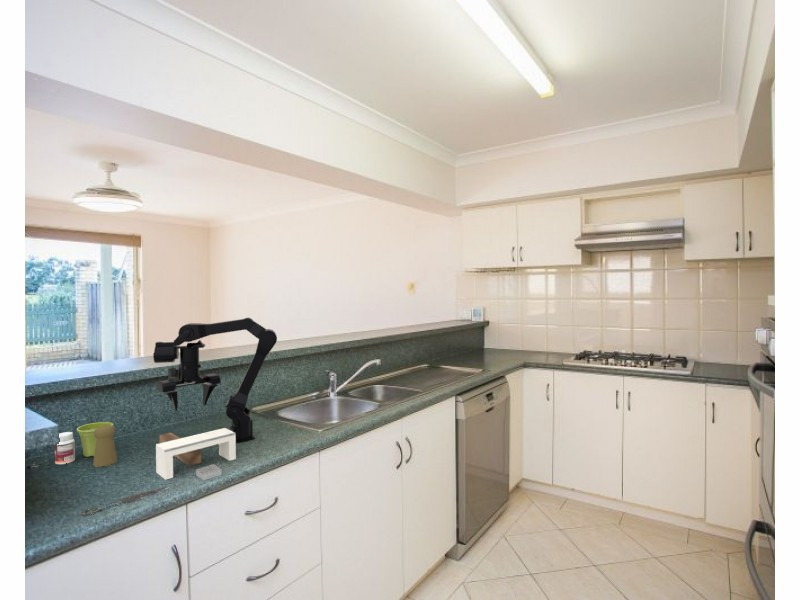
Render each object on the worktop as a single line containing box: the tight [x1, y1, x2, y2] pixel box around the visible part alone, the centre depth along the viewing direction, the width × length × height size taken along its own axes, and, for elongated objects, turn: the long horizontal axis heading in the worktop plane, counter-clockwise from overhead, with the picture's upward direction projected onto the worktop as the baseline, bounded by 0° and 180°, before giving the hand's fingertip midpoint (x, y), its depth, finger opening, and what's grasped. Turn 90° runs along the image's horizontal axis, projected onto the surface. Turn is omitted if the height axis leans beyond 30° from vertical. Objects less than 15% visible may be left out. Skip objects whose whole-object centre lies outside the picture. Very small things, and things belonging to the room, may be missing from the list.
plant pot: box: [76, 421, 114, 458], centre depth 139 cm, size 9×9×9 cm
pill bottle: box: [54, 431, 76, 465], centre depth 133 cm, size 5×5×8 cm
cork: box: [92, 425, 118, 468], centre depth 132 cm, size 6×6×11 cm
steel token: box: [195, 463, 223, 481], centre depth 123 cm, size 5×5×2 cm
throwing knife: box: [80, 485, 173, 517], centre depth 109 cm, size 4×20×1 cm, turn 138°
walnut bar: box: [159, 432, 202, 467], centre depth 139 cm, size 4×24×4 cm, turn 47°
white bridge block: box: [155, 427, 237, 481], centre depth 130 cm, size 20×7×8 cm, turn 137°
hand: (190, 408), depth 148 cm, fingers open, 9 cm apart
